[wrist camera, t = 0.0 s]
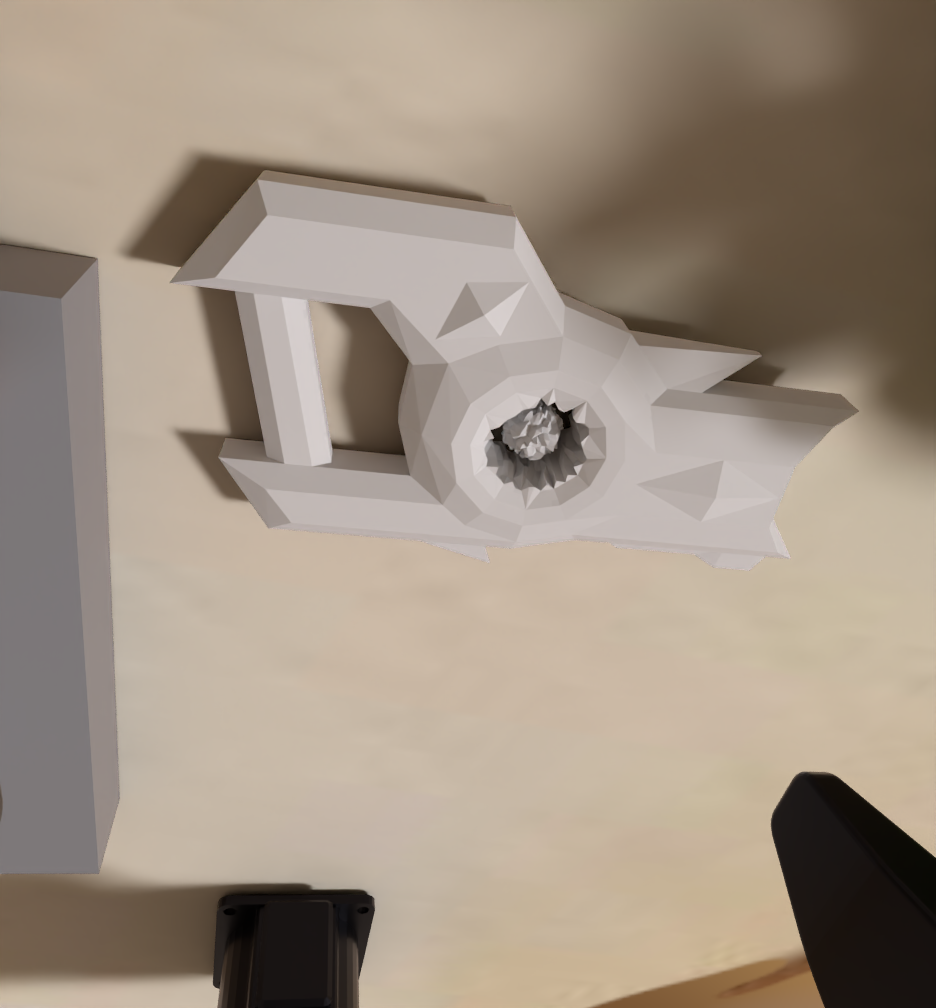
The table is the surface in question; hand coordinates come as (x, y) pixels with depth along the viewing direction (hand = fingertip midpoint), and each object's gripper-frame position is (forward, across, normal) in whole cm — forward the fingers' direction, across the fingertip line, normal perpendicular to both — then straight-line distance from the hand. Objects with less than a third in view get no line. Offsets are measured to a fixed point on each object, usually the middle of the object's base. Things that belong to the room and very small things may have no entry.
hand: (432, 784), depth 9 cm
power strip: (+15, +10, +6) cm, 19 cm away
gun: (+15, -4, +1) cm, 16 cm away
